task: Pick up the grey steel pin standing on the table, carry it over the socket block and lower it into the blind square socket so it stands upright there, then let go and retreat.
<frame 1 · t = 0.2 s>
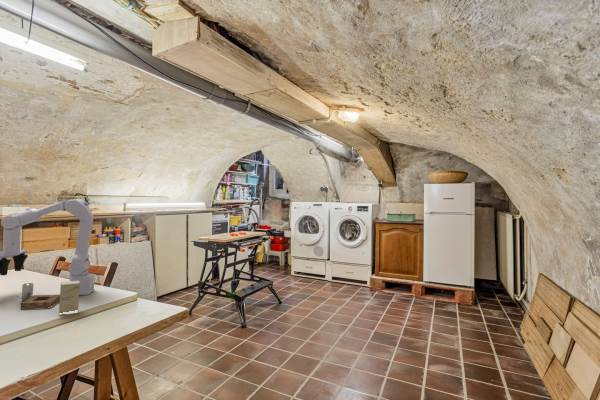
hand: (10, 272, 142), 10 cm above the table, fingers open, 7 cm apart
socket block: (41, 304, 134), on the table
pin: (27, 300, 137), on the table
skincare box: (68, 313, 127), on the table
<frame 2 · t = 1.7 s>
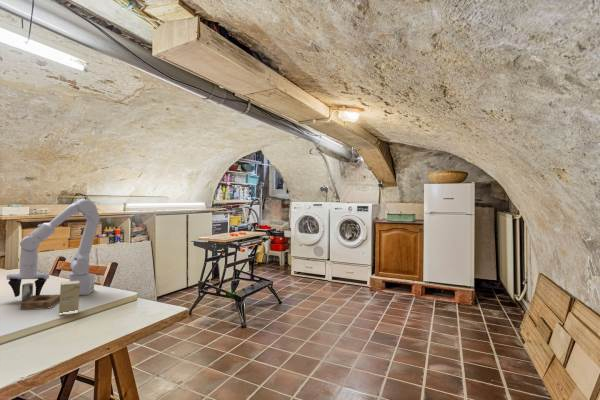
hand: (27, 295, 137), 2 cm above the table, fingers open, 7 cm apart
nothing on the table moved.
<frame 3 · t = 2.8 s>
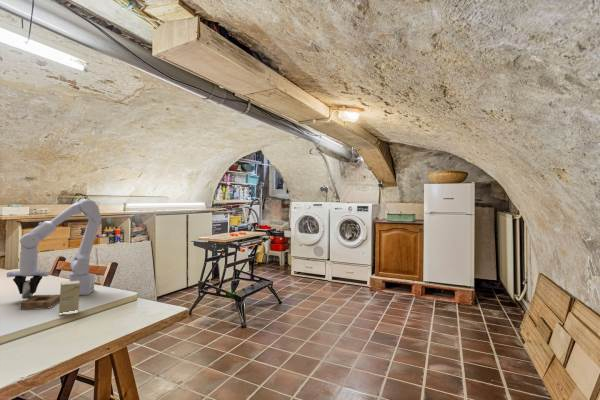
hand: (27, 293, 137), 3 cm above the table, fingers closed on pin, 4 cm apart
pin: (27, 297, 137), point 1 cm above the table, touching gripper
everything else where it was.
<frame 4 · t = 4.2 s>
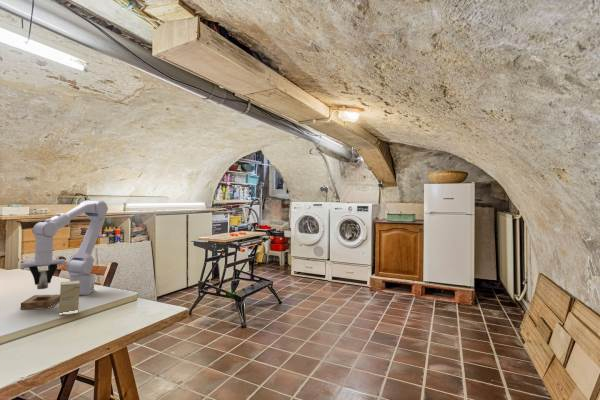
hand: (42, 283, 133), 9 cm above the table, fingers closed on pin, 4 cm apart
pin: (42, 287, 133), point 7 cm above the table, touching gripper
everything else where it was.
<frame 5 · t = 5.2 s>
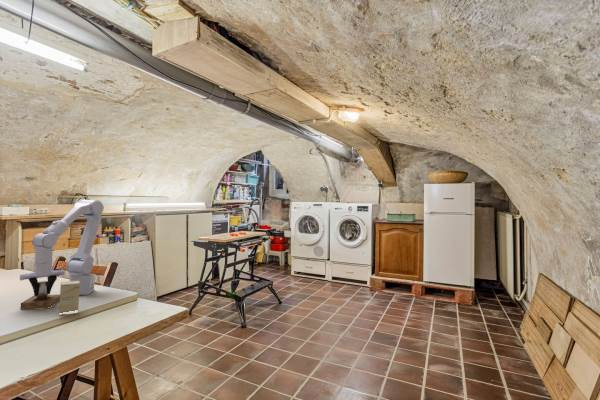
hand: (42, 294, 134), 4 cm above the table, fingers closed on pin, 4 cm apart
pin: (42, 299, 133), point 2 cm above the table, touching gripper
everything else where it was.
when the fingers open (4 cm above the table, at t = 5.8 s): pin drops 1 cm, resting on socket block.
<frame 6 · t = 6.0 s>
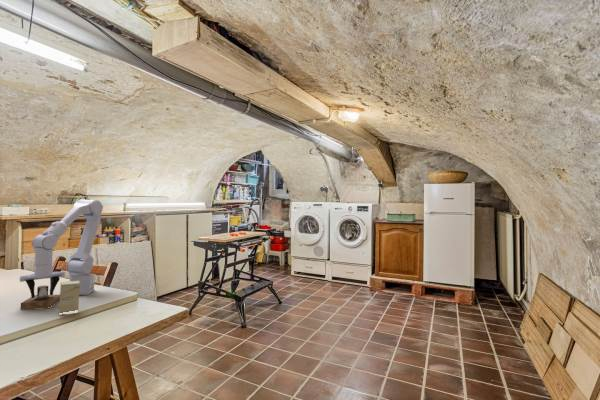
hand: (42, 295, 134), 4 cm above the table, fingers open, 5 cm apart
pin: (42, 303, 134), point 1 cm above the table, touching socket block
everything else where it was.
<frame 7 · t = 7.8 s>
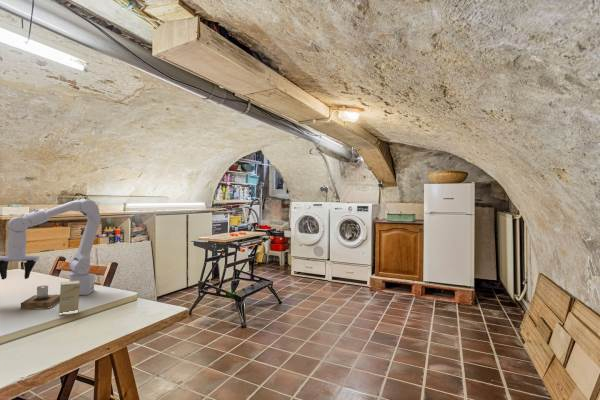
hand: (15, 278, 133), 10 cm above the table, fingers open, 7 cm apart
nothing on the table moved.
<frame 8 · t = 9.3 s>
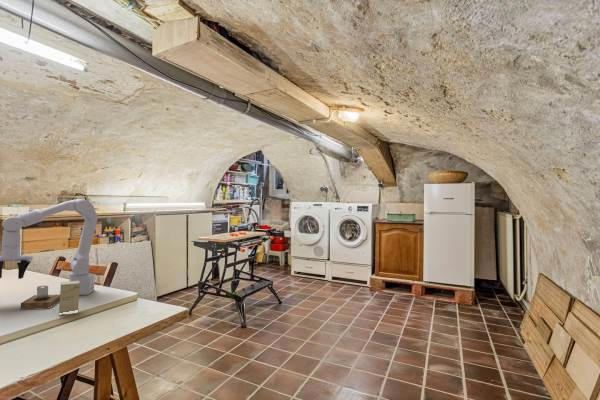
hand: (9, 278, 133), 10 cm above the table, fingers open, 7 cm apart
nothing on the table moved.
at the end: pin 0.1 cm off-centre on the socket block, point 0.5 cm above the socket block's base; pin tilted 0°; the gripper is holding nothing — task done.
